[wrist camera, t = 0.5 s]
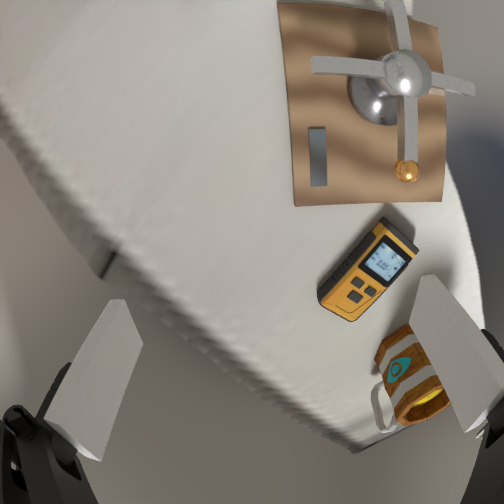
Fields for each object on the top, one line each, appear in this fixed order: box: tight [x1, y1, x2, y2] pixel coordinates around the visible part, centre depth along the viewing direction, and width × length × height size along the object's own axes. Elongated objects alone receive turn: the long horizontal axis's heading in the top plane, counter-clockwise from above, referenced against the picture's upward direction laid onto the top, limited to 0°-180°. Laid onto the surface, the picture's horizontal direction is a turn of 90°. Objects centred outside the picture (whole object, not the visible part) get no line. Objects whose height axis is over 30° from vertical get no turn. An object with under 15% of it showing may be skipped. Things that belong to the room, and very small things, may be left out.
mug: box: [371, 325, 451, 433], centre depth 43 cm, size 20×14×15 cm
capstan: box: [310, 0, 476, 183], centre depth 23 cm, size 21×19×8 cm
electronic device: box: [317, 217, 419, 322], centre depth 39 cm, size 8×16×3 cm, turn 146°
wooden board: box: [277, 3, 446, 207], centre depth 28 cm, size 26×22×2 cm
